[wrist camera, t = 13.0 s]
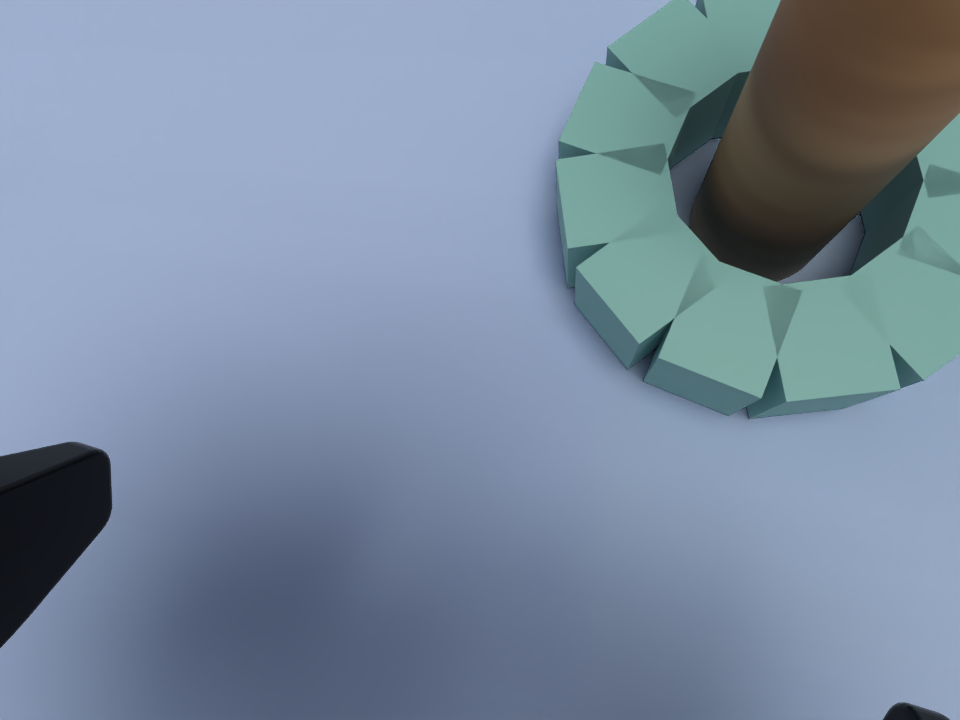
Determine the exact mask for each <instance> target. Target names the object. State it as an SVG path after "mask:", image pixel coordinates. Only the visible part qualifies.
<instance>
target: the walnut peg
mask: <svg viewBox="0 0 960 720" xmlns="http://www.w3.org/2000/svg"><path fill="white" fill-rule="evenodd" d="M959 113H960V0H781V1H780V3H779V6H778V8H777V10H776V13H775V15H774V17H773V20H772V22H771V24H770V27H769V29H768V31H767V34H766V36H765V38H764V41H763V43H762V45H761V48H760V50H759V52H758V55H757V57H756V59H755V62H754V64H753V66H752V69H751V71H750V73H749V76H748V78H747V80H746V83H745V85H744V87H743V90H742V92H741V94H740V97H739V99H738V101H737V104H736V106H735V108H734V111H733V113H732V115H731V118H730V120H729V122H728V125H727V127H726V129H725V132H724V134H723V136H722V139H721V141H720V143H719V146H718V148H717V150H716V153H715V155H714V157H713V160H712V162H711V164H710V167H709V169H708V171H707V174H706V176H705V178H704V181H703V183H702V185H701V188H700V190H699V192H698V195H697V197H696V199H695V202H694V204H693V207H692V210H691V216H690V229H691V231H692V232H693V233H694V234H695V235H696V236H697V237H698V239H699V240H700V241H701V242H702V243H703V244H704V245H705V246H706V247H707V249H708V250H709V251H710V252H711V253H712V254H713V255H714V256H715V257H716V259H717V260H718V261H719V262H722V263H725V264H728V265H730V266H733V267H736V268H739V269H742V270H744V271H747V272H750V273H753V274H756V275H758V276H761V277H764V278H767V279H770V280H772V281H779V280H782V279H784V278H787V277H789V276H791V275H793V274H795V273H796V272H798V271H799V270H801V269H802V268H803V267H804V266H805V265H806V264H807V263H808V262H809V261H810V260H811V259H812V258H814V257H815V256H816V255H817V254H818V253H819V252H820V251H821V250H822V249H823V248H824V247H825V246H826V245H827V244H828V243H829V242H830V241H831V240H832V239H833V238H834V237H835V236H836V235H837V234H838V233H839V232H840V231H841V230H842V229H843V228H844V227H845V226H846V225H847V224H848V223H849V222H850V221H851V220H852V219H853V218H854V217H855V216H856V215H857V214H858V213H859V212H860V211H861V210H862V209H863V208H864V207H865V206H866V205H867V204H868V203H869V202H870V201H871V200H872V199H873V198H874V197H875V196H876V195H877V194H878V193H879V192H880V191H881V190H882V189H883V188H884V187H885V186H886V185H887V184H888V183H889V182H890V181H891V180H892V179H893V178H894V177H895V176H896V175H898V174H899V173H900V172H901V171H902V170H903V169H904V168H905V167H906V166H907V165H908V164H909V163H910V162H911V161H912V160H913V159H914V158H915V157H916V156H917V155H918V154H919V153H920V152H921V151H922V150H923V149H924V148H925V147H926V146H927V145H928V144H929V143H930V142H931V141H932V140H933V139H934V138H935V137H936V136H937V135H938V134H939V133H940V132H941V131H942V130H943V129H944V128H945V127H946V126H947V125H948V124H949V123H950V122H951V121H952V120H953V119H954V118H955V117H956V116H957V115H958V114H959Z"/></svg>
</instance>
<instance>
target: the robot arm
mask: <svg viewBox="0 0 960 720" xmlns="http://www.w3.org/2000/svg"><path fill="white" fill-rule="evenodd" d="M111 510H112V488H111V464H110V459H109V457H108V455H107V453H106V452H104V451H103V450H101V449H98V448H95V447H92V446H89V445H85V444H82V443H78V442H66V443H62V444H57V445H52V446H47V447H43V448H38V449H33V450H29V451H24V452H19V453H14V454H10V455H5V456H0V648H1V647H2V646H3V645H4V644H5V643H6V642H7V641H8V640H9V638H10V637H11V636H12V635H13V634H14V633H15V632H16V631H17V630H18V629H19V627H20V626H21V625H22V624H23V623H24V622H25V621H26V620H27V618H28V617H29V616H30V615H31V614H32V613H33V611H34V610H35V609H36V608H37V607H38V605H39V604H40V603H41V602H42V601H43V599H44V598H45V597H46V596H47V595H48V593H49V592H50V591H51V590H52V589H53V588H54V586H55V585H56V584H57V583H58V582H59V580H60V579H61V578H62V577H63V576H64V574H65V573H66V572H67V571H68V570H69V569H70V567H71V566H72V565H73V564H74V563H75V561H76V560H77V559H78V558H79V557H80V555H81V554H82V553H83V552H84V551H85V549H86V548H87V547H88V546H89V545H90V544H91V542H92V541H93V540H94V539H95V538H96V536H97V535H98V534H99V533H100V532H101V530H102V529H103V528H104V526H105V525H106V523H107V521H108V519H109V517H110V514H111ZM883 720H949V719H948V718H947V717H945V716H944V715H942V714H940V713H938V712H935V711H932V710H928V709H925V708H922V707H919V706H916V705H912V704H909V703H897V704H895V705H893V706H892V707H891V708H890V709H889V711H888V712H887V714H886V715H885V717H884V719H883Z"/></svg>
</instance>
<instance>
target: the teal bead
mask: <svg viewBox="0 0 960 720" xmlns="http://www.w3.org/2000/svg"><path fill="white" fill-rule="evenodd" d="M780 1H781V0H697V2H696V6H694V5H693V4H692V3H691V2H690V1H688V0H672V1H671V2H669V3H668V4H667V5H665V6H664V7H662V8H661V9H660V10H658V11H657V12H655V13H654V14H653V15H651V16H650V17H649V18H647V19H646V20H644V21H643V22H642V23H640V24H639V25H637V26H636V27H635V28H633V29H632V30H630V31H629V32H628V33H626V34H625V35H624V36H622V37H621V38H619V39H618V40H617V41H615V42H614V43H612V44H611V45H610V46H608V48H607V59H606V65H604V64H600V63H597V62H595V63H594V65H593V67H592V70H591V72H590V74H589V76H588V78H587V80H586V83H585V85H584V87H583V89H582V91H581V93H580V96H579V98H578V100H577V102H576V104H575V106H574V109H573V111H572V113H571V115H570V117H569V119H568V122H567V124H566V126H565V128H564V130H563V132H562V135H561V137H560V139H559V159H557V160H556V189H557V214H558V222H559V229H560V237H561V244H562V252H563V259H564V267H565V274H566V282H567V288H571V287H575V301H574V304H575V306H576V307H577V308H578V309H579V311H580V312H581V313H582V314H583V315H584V317H585V318H586V319H587V320H588V322H589V323H590V324H591V325H592V327H593V328H594V329H595V330H596V332H597V333H598V334H599V335H600V336H601V338H602V339H603V340H604V341H605V343H606V344H607V345H608V346H609V348H610V349H611V350H612V351H613V353H614V354H615V355H616V356H617V358H618V359H619V360H620V361H621V362H622V364H623V365H624V366H625V367H626V369H627V370H628V369H629V368H630V367H632V366H633V365H634V364H636V363H637V362H638V361H640V360H641V359H643V358H644V357H645V356H647V355H648V354H649V353H651V352H652V351H653V350H655V349H656V348H657V349H656V351H655V354H654V356H653V358H652V361H651V363H650V366H649V368H648V371H647V373H646V375H645V378H644V380H643V381H644V382H646V383H649V384H651V385H654V386H656V387H658V388H661V389H663V390H666V391H668V392H671V393H673V394H676V395H678V396H681V397H683V398H686V399H688V400H691V401H693V402H695V403H698V404H700V405H703V406H705V407H708V408H710V409H713V410H715V411H718V412H720V413H723V414H725V415H728V416H729V415H731V414H733V413H735V412H737V411H739V410H741V409H742V408H744V407H746V406H747V410H748V415H749V419H752V418H761V417H770V416H780V415H789V414H798V413H807V412H816V411H826V410H835V409H844V408H846V407H849V406H852V405H855V404H858V403H861V402H864V401H867V400H870V399H873V398H876V397H879V396H882V395H885V394H888V393H891V392H894V391H897V390H900V389H901V388H903V387H906V386H909V385H912V384H914V383H917V382H920V381H923V380H925V379H926V378H928V377H929V376H930V375H932V374H933V373H934V372H936V371H937V370H938V369H940V368H941V367H942V366H944V365H945V364H946V363H948V362H949V361H950V360H952V359H953V358H954V357H956V356H957V355H958V354H960V113H959V114H958V115H957V116H956V117H955V118H954V119H953V120H952V121H951V122H950V123H949V124H948V125H947V126H946V127H945V128H944V129H943V130H942V131H941V132H940V133H939V134H938V135H937V136H936V137H935V138H934V139H933V140H932V141H931V142H930V143H929V144H928V145H927V146H926V147H925V148H924V149H923V150H922V151H921V152H920V153H919V154H918V155H917V156H916V157H915V158H914V159H913V160H912V161H911V162H910V163H909V164H908V165H907V166H906V167H905V168H904V169H903V170H902V171H901V172H900V173H899V174H898V175H896V176H895V177H894V178H893V179H892V180H891V181H890V182H889V183H888V184H887V185H886V186H885V187H884V188H883V189H882V190H881V191H880V192H879V193H878V194H877V195H876V196H875V197H874V198H873V199H872V200H871V201H870V202H869V203H868V204H867V205H866V206H865V207H864V208H863V209H862V210H861V211H860V213H861V217H862V221H863V225H864V229H865V235H864V238H863V241H862V243H861V246H860V249H859V252H858V254H857V257H856V260H855V262H854V265H853V268H852V270H851V273H850V276H843V277H835V278H827V279H819V280H812V281H804V282H796V283H788V284H781V283H778V282H775V281H772V280H770V279H767V278H764V277H761V276H758V275H756V274H753V273H750V272H747V271H744V270H742V269H739V268H736V267H733V266H730V265H728V264H725V263H722V262H719V261H718V260H717V259H716V257H715V256H714V255H713V254H712V253H711V252H710V251H709V250H708V249H707V247H706V246H705V245H704V244H703V243H702V242H701V241H700V240H699V239H698V237H697V236H696V235H695V234H694V233H693V232H692V231H691V230H690V229H689V227H688V226H687V225H686V224H685V223H684V222H683V221H682V220H681V219H680V217H679V216H678V215H677V209H676V204H675V198H674V193H673V187H672V181H671V176H670V169H671V168H672V167H673V166H674V165H676V164H677V163H679V162H680V161H681V160H683V159H684V158H685V157H687V156H688V155H690V154H691V153H692V152H694V151H695V150H696V149H698V148H699V147H701V146H702V145H703V144H705V143H706V142H707V141H709V140H710V139H712V138H718V137H722V136H723V134H724V132H725V129H726V127H727V125H728V122H729V120H730V118H731V115H732V113H733V111H734V108H735V106H736V104H737V101H738V99H739V97H740V94H741V92H742V90H743V87H744V85H745V83H746V80H747V78H748V76H749V73H750V71H751V69H752V66H753V64H754V62H755V59H756V57H757V55H758V52H759V50H760V48H761V45H762V43H763V41H764V38H765V36H766V34H767V31H768V29H769V27H770V24H771V22H772V20H773V17H774V15H775V13H776V10H777V8H778V6H779V3H780Z"/></svg>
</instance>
